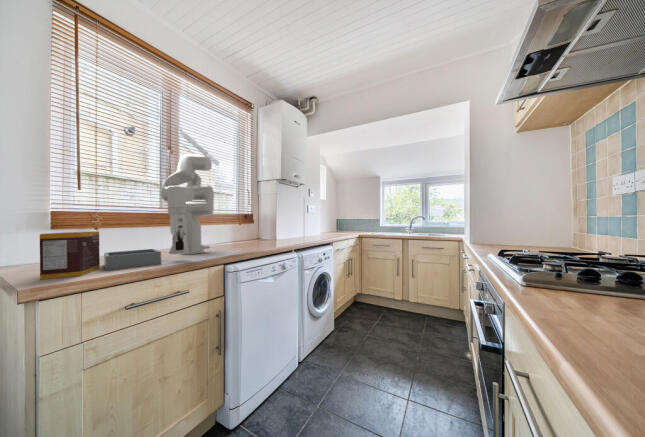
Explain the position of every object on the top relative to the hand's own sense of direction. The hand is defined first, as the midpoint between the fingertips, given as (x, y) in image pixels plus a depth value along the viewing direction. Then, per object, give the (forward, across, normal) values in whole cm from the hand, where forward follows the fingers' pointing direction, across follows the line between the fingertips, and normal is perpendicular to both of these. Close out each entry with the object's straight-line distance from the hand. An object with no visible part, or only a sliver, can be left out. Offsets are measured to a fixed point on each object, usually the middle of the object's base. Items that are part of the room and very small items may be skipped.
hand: (178, 248), depth 111 cm
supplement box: (+5, 0, +34) cm, 35 cm away
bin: (+6, +6, +16) cm, 18 cm away
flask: (+2, 0, 0) cm, 2 cm away
